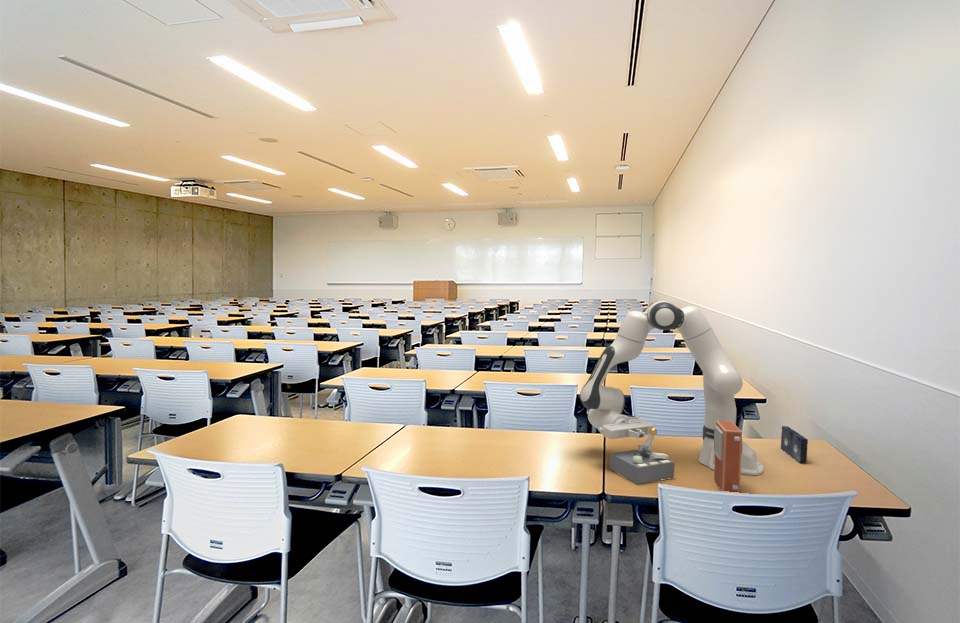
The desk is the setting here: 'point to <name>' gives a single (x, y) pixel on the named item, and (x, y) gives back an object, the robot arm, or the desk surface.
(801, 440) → the vhs cassette tape
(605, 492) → the desk surface
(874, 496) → the desk surface
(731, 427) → the orange box
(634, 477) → the console
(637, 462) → the button
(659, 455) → the block
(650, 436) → the lever
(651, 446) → the grey bar
